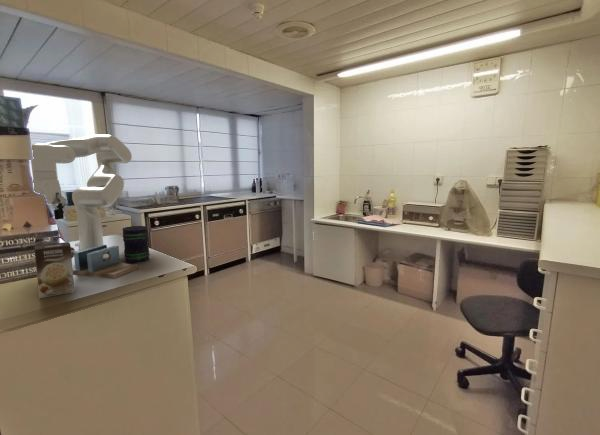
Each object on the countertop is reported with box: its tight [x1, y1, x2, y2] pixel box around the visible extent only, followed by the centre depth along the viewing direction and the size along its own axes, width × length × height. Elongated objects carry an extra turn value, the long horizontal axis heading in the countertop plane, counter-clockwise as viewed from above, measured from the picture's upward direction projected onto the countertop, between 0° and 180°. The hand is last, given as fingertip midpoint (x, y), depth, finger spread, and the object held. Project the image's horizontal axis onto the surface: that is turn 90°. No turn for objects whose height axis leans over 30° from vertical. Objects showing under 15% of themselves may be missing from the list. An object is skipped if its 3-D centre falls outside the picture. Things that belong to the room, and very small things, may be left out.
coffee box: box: [33, 241, 76, 299], centre depth 96 cm, size 9×6×16 cm
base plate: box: [73, 262, 138, 279], centre depth 118 cm, size 20×12×2 cm, turn 78°
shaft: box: [71, 247, 111, 260], centre depth 119 cm, size 22×5×5 cm, turn 78°
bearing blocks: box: [73, 244, 121, 273], centre depth 118 cm, size 8×13×7 cm, turn 168°
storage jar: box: [122, 225, 150, 265], centre depth 131 cm, size 10×10×15 cm
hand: (50, 218), depth 121 cm, fingers open, 8 cm apart
